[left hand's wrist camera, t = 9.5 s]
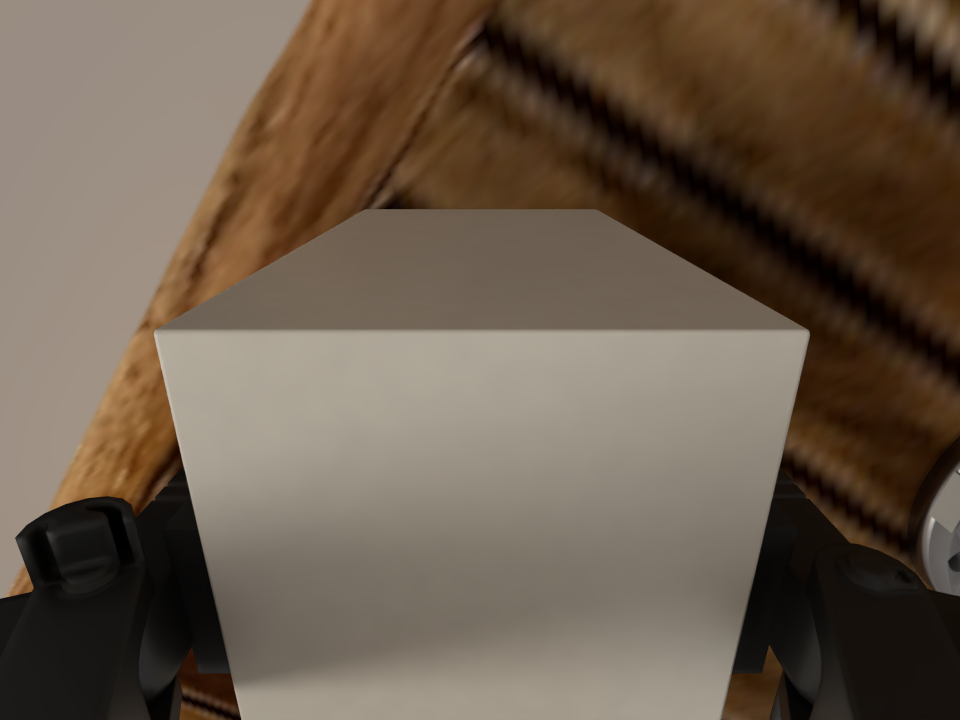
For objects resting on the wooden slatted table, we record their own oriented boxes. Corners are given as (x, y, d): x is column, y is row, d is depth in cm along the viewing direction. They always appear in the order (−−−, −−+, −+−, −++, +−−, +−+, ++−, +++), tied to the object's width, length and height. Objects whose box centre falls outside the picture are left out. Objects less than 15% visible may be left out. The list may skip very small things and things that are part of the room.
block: (364, 209, 17) (149, 329, 6) (597, 209, 17) (814, 330, 6) (381, 451, 20) (263, 823, 9) (579, 451, 20) (698, 823, 9)
